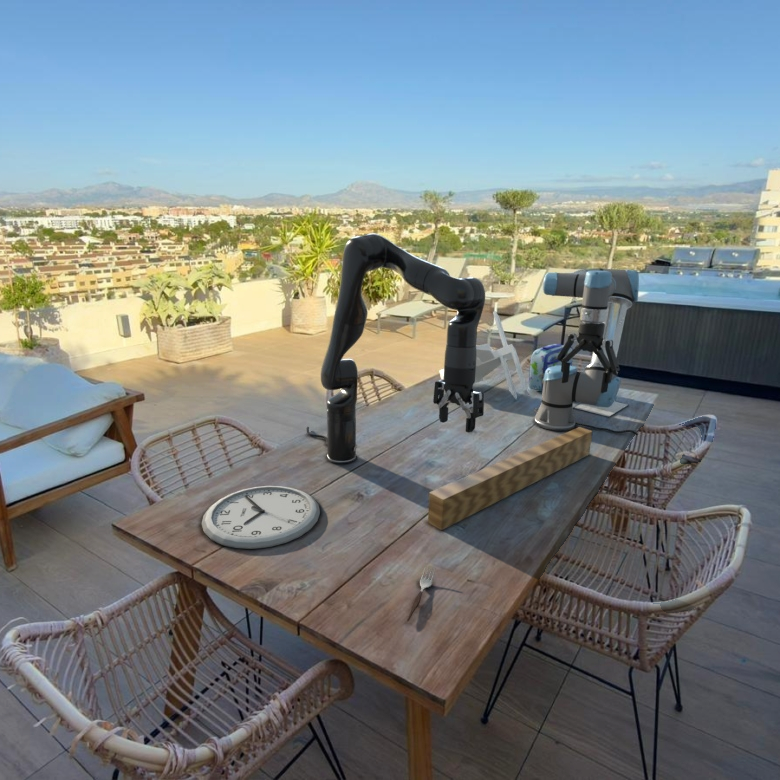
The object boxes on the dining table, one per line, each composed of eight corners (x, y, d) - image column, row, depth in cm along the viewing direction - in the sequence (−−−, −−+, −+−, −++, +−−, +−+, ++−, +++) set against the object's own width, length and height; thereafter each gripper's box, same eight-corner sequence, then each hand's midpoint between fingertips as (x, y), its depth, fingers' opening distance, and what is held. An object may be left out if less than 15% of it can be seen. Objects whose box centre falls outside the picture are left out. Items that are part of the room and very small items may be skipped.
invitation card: (608, 416, 214) (573, 407, 224) (608, 416, 214) (573, 408, 224) (628, 404, 229) (594, 396, 238) (628, 405, 229) (594, 397, 238)
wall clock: (317, 540, 124) (186, 544, 121) (317, 546, 124) (187, 551, 121) (322, 481, 152) (216, 484, 150) (322, 486, 153) (216, 489, 150)
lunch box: (545, 396, 239) (550, 351, 232) (524, 391, 246) (528, 347, 240) (572, 385, 256) (577, 343, 250) (552, 380, 263) (557, 339, 257)
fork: (401, 621, 101) (401, 612, 100) (424, 572, 115) (424, 565, 115) (413, 625, 100) (414, 616, 100) (435, 575, 114) (436, 567, 114)
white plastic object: (461, 429, 252) (437, 405, 227) (444, 352, 274) (420, 323, 250) (535, 404, 240) (518, 377, 215) (510, 326, 262) (492, 293, 237)
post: (576, 450, 181) (579, 426, 179) (589, 454, 178) (592, 431, 175) (427, 522, 135) (429, 492, 133) (441, 530, 132) (443, 499, 129)
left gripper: (427, 359, 127) (425, 421, 132) (472, 372, 117) (468, 439, 122) (448, 355, 132) (445, 415, 137) (493, 366, 122) (488, 431, 127)
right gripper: (550, 317, 169) (543, 380, 175) (626, 329, 151) (615, 398, 157) (563, 315, 174) (555, 376, 180) (638, 326, 156) (627, 394, 162)
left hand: (456, 426), depth 129 cm, fingers open, 8 cm apart
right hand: (583, 387), depth 169 cm, fingers open, 13 cm apart
